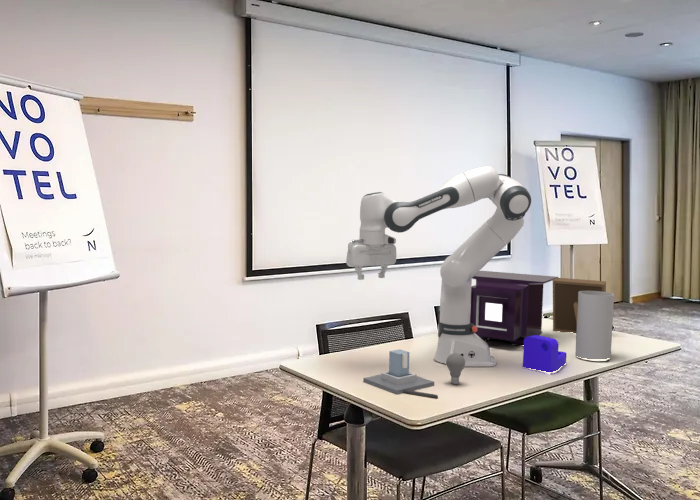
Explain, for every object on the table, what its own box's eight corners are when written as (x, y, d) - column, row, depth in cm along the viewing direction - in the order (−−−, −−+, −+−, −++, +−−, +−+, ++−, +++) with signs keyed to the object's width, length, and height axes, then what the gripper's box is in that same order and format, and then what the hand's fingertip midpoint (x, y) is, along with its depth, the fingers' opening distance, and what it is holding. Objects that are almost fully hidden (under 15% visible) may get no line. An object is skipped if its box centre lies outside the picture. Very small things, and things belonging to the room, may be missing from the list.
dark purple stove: (479, 328, 288) (481, 270, 286) (555, 338, 269) (558, 276, 267) (449, 342, 258) (451, 277, 256) (532, 354, 240) (535, 285, 238)
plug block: (399, 376, 201) (399, 349, 201) (410, 380, 197) (410, 352, 196) (388, 378, 199) (389, 351, 198) (399, 382, 194) (400, 354, 194)
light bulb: (443, 381, 202) (444, 351, 201) (461, 381, 202) (462, 351, 202) (448, 386, 196) (449, 355, 195) (466, 386, 196) (467, 355, 196)
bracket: (550, 375, 212) (551, 341, 211) (522, 368, 220) (524, 335, 219) (577, 366, 224) (578, 334, 223) (549, 360, 232) (551, 329, 231)
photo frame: (555, 329, 289) (557, 276, 287) (605, 335, 278) (607, 280, 276) (547, 335, 276) (550, 279, 274) (599, 341, 265) (602, 283, 263)
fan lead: (402, 393, 189) (402, 389, 188) (404, 392, 189) (404, 388, 189) (437, 398, 184) (437, 395, 184) (438, 397, 185) (438, 394, 184)
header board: (399, 373, 209) (400, 364, 209) (434, 385, 197) (434, 375, 197) (363, 381, 200) (363, 372, 199) (397, 394, 187) (397, 384, 187)
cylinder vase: (617, 360, 233) (621, 294, 231) (596, 364, 227) (599, 296, 225) (589, 352, 244) (592, 290, 242) (568, 356, 238) (571, 292, 236)
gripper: (354, 240, 206) (353, 281, 207) (399, 238, 218) (398, 277, 220) (342, 239, 211) (342, 279, 212) (387, 237, 223) (386, 276, 225)
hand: (371, 278), depth 216 cm, fingers open, 8 cm apart
